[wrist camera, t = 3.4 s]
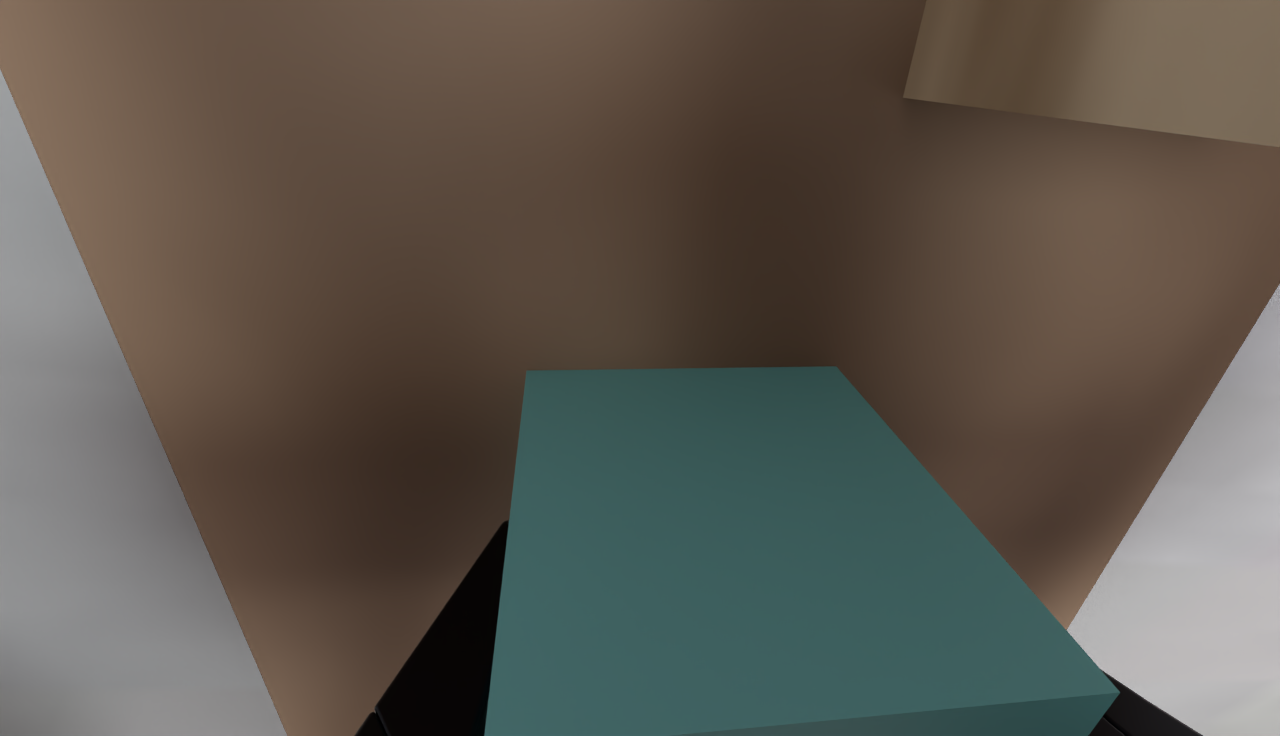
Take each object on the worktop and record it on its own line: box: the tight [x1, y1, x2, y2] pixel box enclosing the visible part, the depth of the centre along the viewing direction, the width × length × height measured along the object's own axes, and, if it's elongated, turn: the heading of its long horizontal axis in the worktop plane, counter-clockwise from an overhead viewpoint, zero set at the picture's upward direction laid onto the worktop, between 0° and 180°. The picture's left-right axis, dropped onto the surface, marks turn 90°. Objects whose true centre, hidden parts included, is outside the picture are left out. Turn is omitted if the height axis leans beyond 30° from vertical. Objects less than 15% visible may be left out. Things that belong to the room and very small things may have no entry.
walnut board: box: [0, 0, 1280, 736], centre depth 11 cm, size 18×25×1 cm
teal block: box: [484, 366, 1120, 736], centre depth 8 cm, size 5×5×6 cm
